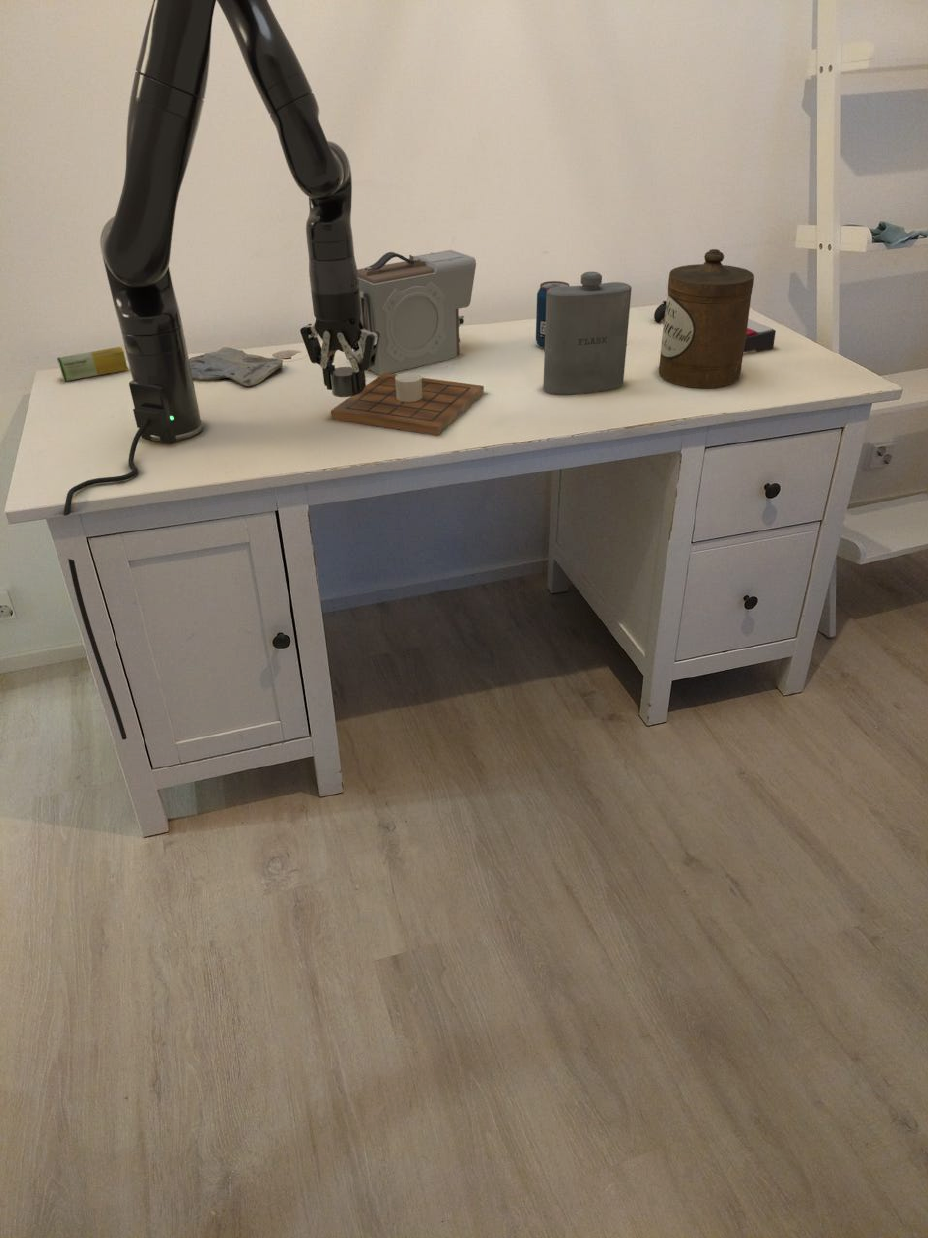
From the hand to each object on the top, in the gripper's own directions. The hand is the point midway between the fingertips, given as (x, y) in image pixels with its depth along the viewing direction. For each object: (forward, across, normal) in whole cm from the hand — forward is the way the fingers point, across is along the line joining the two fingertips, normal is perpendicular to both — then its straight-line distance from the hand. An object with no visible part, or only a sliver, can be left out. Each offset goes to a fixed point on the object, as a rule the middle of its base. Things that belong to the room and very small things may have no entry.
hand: (345, 389), depth 150 cm
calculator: (+5, +54, +58) cm, 80 cm away
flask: (+5, +34, +26) cm, 44 cm away
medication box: (+5, -56, +1) cm, 56 cm away
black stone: (0, 0, 0) cm, 0 cm away
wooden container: (+5, +52, +40) cm, 66 cm away
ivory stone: (+3, +8, +8) cm, 12 cm away
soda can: (+5, +21, +48) cm, 52 cm away
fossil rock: (+5, -32, +11) cm, 34 cm away
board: (+5, +8, +8) cm, 12 cm away
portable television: (+5, -3, +32) cm, 32 cm away
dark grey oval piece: (+5, +41, +74) cm, 85 cm away
